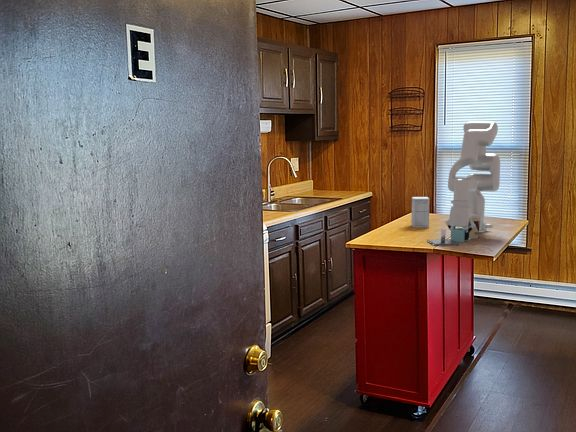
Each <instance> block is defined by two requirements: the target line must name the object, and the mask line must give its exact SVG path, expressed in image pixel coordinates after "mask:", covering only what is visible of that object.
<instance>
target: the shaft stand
mask: <svg viewBox="0 0 576 432" xmlns="http://www.w3.org/2000/svg"><path fill="white" fill-rule="evenodd" d="M440 230H441V231H440V239H434V238H433V239H432V238H431V239H426V242H427V241H429V242H431V243H432V244H434V245H456V246H458V247H459V246H460V242H457V241H453V240H451V238H446V229H445V228H441V229H440ZM429 242H428V243H429ZM431 243H430V244H431ZM432 244H431V245H432ZM434 245H433V246H434Z"/></svg>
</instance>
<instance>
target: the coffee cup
mask: <svg viewBox="0 0 576 432" xmlns="http://www.w3.org/2000/svg"><path fill="white" fill-rule="evenodd" d="M480 217H481V216H480V214H473V213H471V220H472V221H473V223H474V224H475V225H476V226H475V227H474V228H473V229H472V230H471V231H470V232H469V239H471V240H472V239H473V240H474V239H475V240H476V239H478V238H479V234H480V232H479V227H480ZM471 226H472V225H471ZM471 226H469V228H470V227H471ZM461 228H464V227H461Z"/></svg>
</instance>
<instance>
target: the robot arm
mask: <svg viewBox="0 0 576 432" xmlns="http://www.w3.org/2000/svg"><path fill="white" fill-rule="evenodd" d="M462 130H463V138H462V143H461V152H460V156H459V157H460V158H459V159H457V160H456V162H454V163H453V165H452V166H451V167H450V169H449V173H448V178H447V179H448V181H447V188H448V190H449V191H450V192H453V200H451V201H450V204H452V205H451V207H450V211H449V218H448V219H447V221H445V223H444V224H446V226H447V228H448V229H449V231H450V232H451V229H453V228H462V227H464V228H465V231H466V232H465V240H468V239H469V232H470V231H471V230H472V229H473V228H474V227H475V226H476V225H475V224H474V223H473V221H472V220H471V213H473V214H480V216H481V217H480V227H479V233H486V232H488V231H487V228H489V229H490V228H493V226H494V225H493V224H492V223H486V222H485V210H486V209H485V208H486V207H485V204H486V199H485V196H484V195H483V194H482V192H487V193H488V192H489V193H490V192H498V190H499V188H500V184H501V183H500V182H501V181H500V179H501V159H500V156H499V155H498V154H496V153H487V147H490V146H492V144H493V143H494V142H495V139H496V137H497V134H498V132H499V131H498V130H499V126H498V124H497V122H495V121H491V120H490V121H482V120H481V121H467V122H465V123H464V124H463V129H462ZM467 166H468V167H469V168H470V170H471V171H475V173H471V174H468V175H467V176H466V177H462V176H460V177H459V176H457V174H458V171H460V170H461V169H463V168H465V167H467ZM476 172H477V173H476ZM478 172H489V173H478ZM456 176H457V177H456ZM471 225H472V226H471ZM469 226H471V227H470V228H469Z"/></svg>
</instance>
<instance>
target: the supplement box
mask: <svg viewBox="0 0 576 432" xmlns="http://www.w3.org/2000/svg"><path fill="white" fill-rule="evenodd" d="M410 218H411V219H410V220H411V221H410V225H411V227H412V228H430V198H429V197H428V196H412V197H411V217H410Z"/></svg>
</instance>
